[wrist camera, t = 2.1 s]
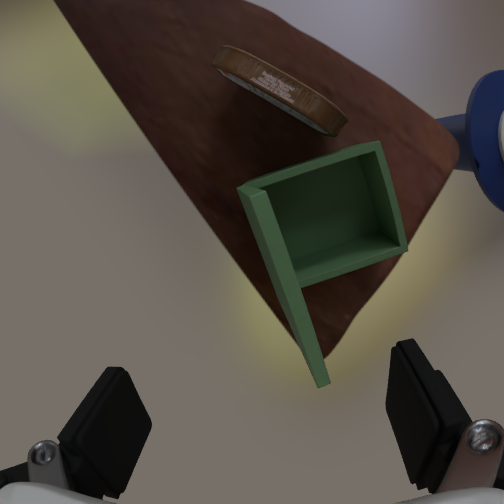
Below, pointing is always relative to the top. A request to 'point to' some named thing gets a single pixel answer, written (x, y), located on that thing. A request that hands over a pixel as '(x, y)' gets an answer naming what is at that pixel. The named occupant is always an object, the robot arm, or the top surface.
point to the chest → (336, 212)
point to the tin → (280, 90)
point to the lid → (283, 277)
